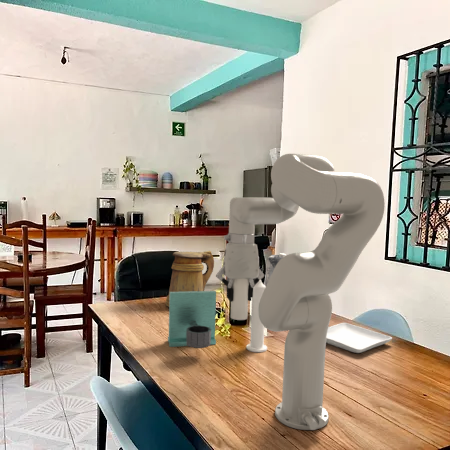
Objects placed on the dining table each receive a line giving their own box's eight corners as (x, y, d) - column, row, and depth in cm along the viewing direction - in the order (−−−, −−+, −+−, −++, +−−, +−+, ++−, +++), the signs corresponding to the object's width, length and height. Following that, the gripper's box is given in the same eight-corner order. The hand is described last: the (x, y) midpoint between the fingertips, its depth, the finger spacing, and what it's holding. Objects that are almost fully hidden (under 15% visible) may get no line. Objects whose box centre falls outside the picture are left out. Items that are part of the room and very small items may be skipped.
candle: (266, 353, 145) (268, 279, 143) (244, 351, 146) (247, 277, 144) (268, 346, 152) (271, 275, 150) (248, 344, 153) (250, 273, 151)
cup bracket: (225, 359, 138) (226, 303, 137) (174, 362, 135) (175, 305, 133) (212, 338, 158) (213, 289, 156) (167, 340, 154) (168, 290, 152)
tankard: (158, 303, 203) (159, 250, 201) (202, 297, 217) (203, 247, 215) (177, 313, 189) (178, 255, 187) (222, 306, 202) (224, 252, 200)
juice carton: (263, 316, 188) (265, 254, 186) (268, 310, 198) (270, 250, 196) (283, 318, 185) (286, 255, 183) (287, 312, 195) (290, 252, 193)
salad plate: (359, 359, 144) (360, 348, 143) (308, 340, 160) (309, 331, 160) (393, 346, 157) (394, 336, 157) (343, 330, 173) (344, 321, 173)
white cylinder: (249, 319, 129) (250, 272, 128) (232, 320, 128) (234, 272, 127) (244, 314, 134) (246, 269, 133) (228, 315, 132) (230, 269, 131)
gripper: (215, 240, 123) (214, 304, 125) (273, 240, 127) (270, 302, 129) (210, 237, 130) (209, 297, 132) (264, 238, 134) (262, 296, 136)
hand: (239, 299), depth 130 cm, fingers closed on white cylinder, 5 cm apart
